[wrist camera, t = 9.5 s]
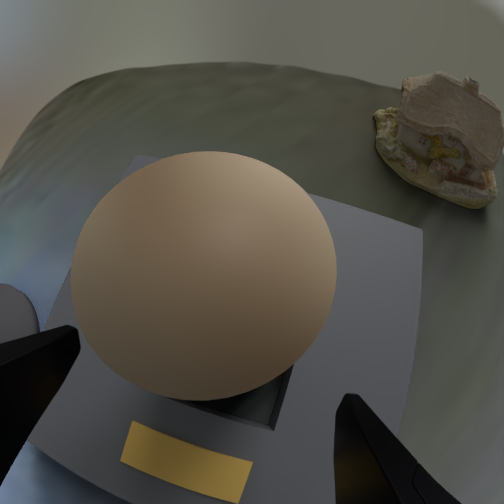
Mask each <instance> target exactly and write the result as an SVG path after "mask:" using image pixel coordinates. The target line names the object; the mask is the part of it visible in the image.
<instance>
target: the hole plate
mask: <svg viewBox="0 0 504 504" xmlns="http://www.w3.org/2000/svg"><path fill="white" fill-rule="evenodd" d="M159 160H161V158H156V157H150V156H145V155H139V154H136V155H135V157H134V158H133V160H132V161H131V163H130V164H129V166H128V167H127V169H126V170H125V172H124V174H123V175H122V177H121V178H120V180H119V181H118V183H120V182H121V181H122V180H123V179H125V178H126V177H128V176H129V175H131V174H132V173H134V172H135V171H137V170H139V169H141V168H143V167H145V166H147V165H149V164H151V163H153V162H156V161H159ZM118 183H117V184H118ZM307 194H308V195H309V196H310V198H311V199H312V200H313V201H314V203H315V204H316V206H317V207H318V209H319V210H320V212H321V213H322V215H323V217H324V219H325V221H326V223H327V225H328V228H329V231H330V233H331V236H332V239H333V243H334V248H335V254H336V265H337V278H336V287H335V293H334V297H333V301H332V305H331V309H330V311H329V314H328V316H327V318H326V321H325V323H324V325H323V327H322V329H321V330H320V332H319V334H318V335H317V337H316V339H315V340H314V342H313V343H312V344H311V346H310V347H309V348H308V349H307V350H306V352H305V353H304V354H303V355H302V356H301V358H299V359H298V360H297V361H296V362H295V363H294V364H293V365H292V366H291V367H289V368H288V369H287V370H286V371H285V372H284V375H283V379H282V382H281V386H280V389H279V393H278V396H277V399H276V402H275V406H274V409H273V412H272V415H271V419H270V422H269V425H266V424H262V423H258V422H255V421H251V420H247V419H244V418H240V417H237V416H233V415H230V414H227V413H223V412H220V411H217V410H214V409H211V408H208V407H205V406H202V405H199V404H196V403H193V402H190V401H188V400H181V399H175V398H169V397H164V396H161V395H158V394H155V393H152V392H149V391H146V390H144V389H142V388H140V387H138V386H136V385H134V384H132V383H130V382H128V381H127V380H125V379H124V378H122V377H121V376H120V375H118V374H117V373H115V372H114V371H113V370H112V369H111V368H110V367H109V366H108V365H107V364H106V363H104V362H103V361H102V360H101V359H100V357H99V356H98V355H97V354H96V352H95V351H94V350H93V348H92V347H91V346H90V344H89V343H88V341H87V339H86V337H85V335H84V334H83V332H82V330H81V328H80V325H79V322H78V320H77V317H76V314H75V310H74V306H73V301H72V295H71V282H70V280H71V268H70V270H69V272H68V274H67V276H66V279H65V281H64V283H63V285H62V287H61V290H60V292H59V294H58V296H57V299H56V301H55V303H54V306H53V308H52V311H51V313H50V315H49V318H48V320H47V323H46V326H45V328H44V331H46V330H50V329H53V328H57V327H60V326H64V325H71V326H73V327H76V328H77V329H78V332H79V338H80V344H81V350H80V353H79V355H78V357H77V359H76V361H75V362H74V364H73V366H72V368H71V370H70V372H69V374H68V375H67V377H66V379H65V381H64V383H63V384H62V386H61V388H60V389H59V391H58V392H57V394H56V395H55V397H54V398H53V400H52V401H51V403H50V404H49V406H48V407H47V409H46V410H45V412H44V413H43V415H42V416H41V418H40V419H39V421H38V423H37V424H36V426H35V427H34V429H33V431H32V432H31V434H30V435H29V437H28V439H27V440H28V441H29V442H30V443H32V444H33V445H34V446H36V447H37V448H38V449H40V450H41V451H42V452H44V453H45V454H47V455H48V456H49V457H51V458H52V459H54V460H55V461H57V462H58V463H60V464H61V465H63V466H64V467H66V468H67V469H69V470H71V471H72V472H74V473H75V474H77V475H79V476H80V477H82V478H84V479H85V480H87V481H89V482H91V483H92V484H94V485H96V486H98V487H100V488H102V489H103V490H105V491H107V492H109V493H111V494H113V495H115V496H117V497H119V498H121V499H123V500H125V501H128V502H130V503H132V504H336V503H335V480H334V462H333V450H334V432H335V414H336V411H337V408H338V406H339V404H340V402H341V400H342V398H343V396H344V395H345V394H346V393H355V394H359V395H360V396H361V398H362V399H363V400H364V401H365V402H366V403H367V404H368V406H369V407H370V408H371V409H372V410H373V411H374V412H375V414H376V415H377V416H378V417H379V418H380V419H381V420H382V422H383V423H384V424H385V425H386V426H387V427H388V428H389V430H390V431H391V432H392V433H393V434H394V435H395V436H396V438H397V437H398V433H399V429H400V425H401V421H402V417H403V413H404V409H405V404H406V399H407V395H408V390H409V385H410V379H411V374H412V368H413V362H414V355H415V348H416V341H417V332H418V323H419V313H420V302H421V287H422V264H423V230H422V229H419V228H416V227H413V226H411V225H408V224H405V223H402V222H399V221H396V220H393V219H390V218H387V217H384V216H381V215H378V214H375V213H372V212H369V211H366V210H363V209H360V208H356V207H353V206H350V205H347V204H343V203H340V202H337V201H333V200H330V199H327V198H323V197H320V196H316V195H313V194H309V193H307Z"/></svg>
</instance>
